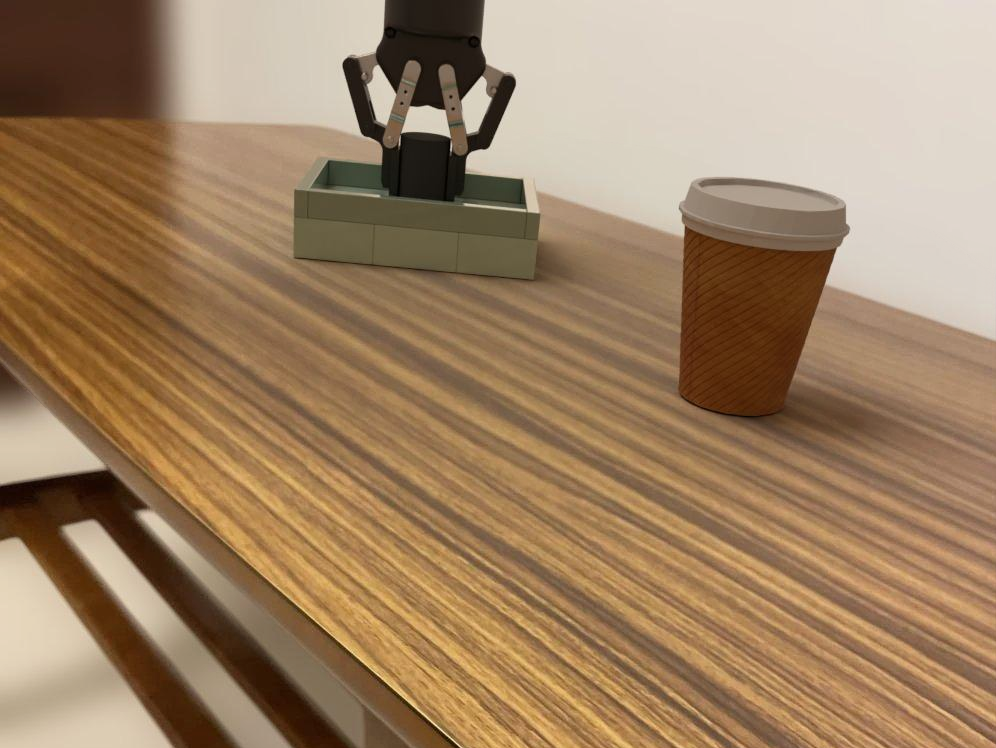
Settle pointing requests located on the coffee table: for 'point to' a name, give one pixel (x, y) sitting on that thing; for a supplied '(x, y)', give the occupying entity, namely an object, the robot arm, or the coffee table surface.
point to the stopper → (423, 165)
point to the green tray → (415, 244)
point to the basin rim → (417, 201)
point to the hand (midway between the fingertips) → (422, 196)
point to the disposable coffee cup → (751, 287)
